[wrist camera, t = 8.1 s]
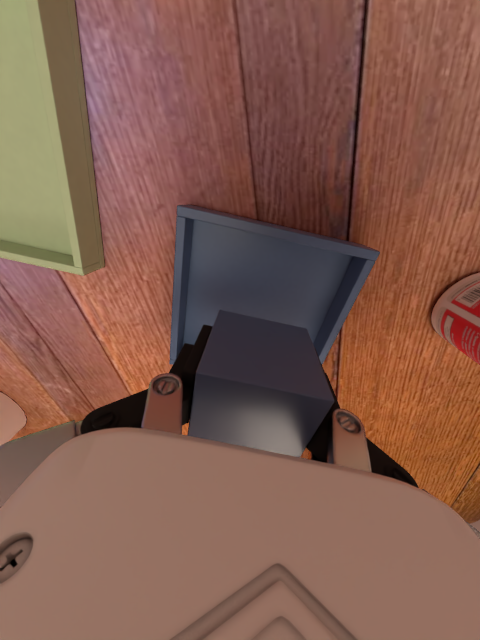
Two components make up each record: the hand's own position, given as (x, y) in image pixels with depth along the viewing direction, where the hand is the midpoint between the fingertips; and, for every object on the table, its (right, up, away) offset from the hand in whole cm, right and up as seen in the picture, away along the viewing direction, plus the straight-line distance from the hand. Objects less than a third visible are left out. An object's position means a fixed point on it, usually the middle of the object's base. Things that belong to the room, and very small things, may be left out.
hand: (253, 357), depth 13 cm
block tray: (+1, +4, +6) cm, 7 cm away
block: (0, 0, 0) cm, 0 cm away
